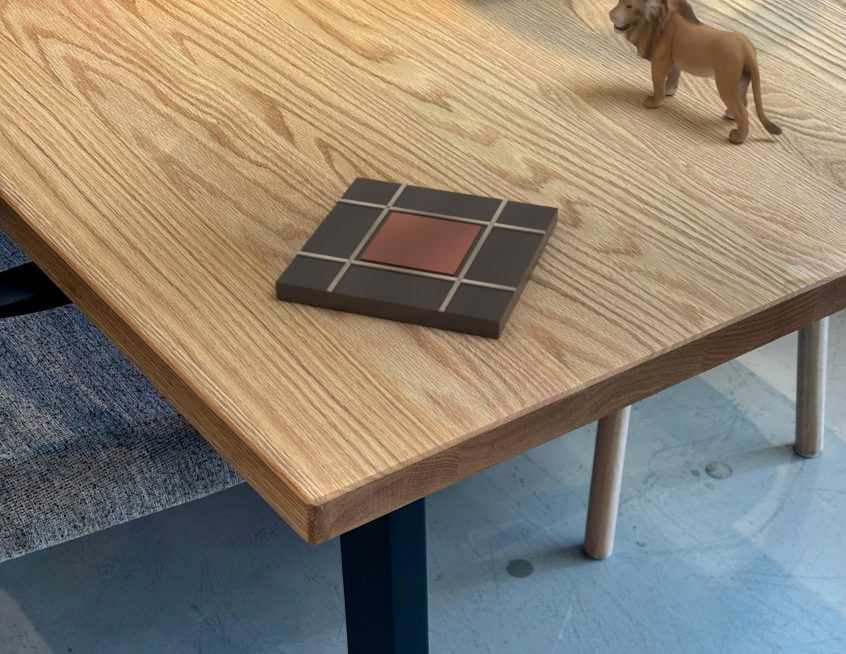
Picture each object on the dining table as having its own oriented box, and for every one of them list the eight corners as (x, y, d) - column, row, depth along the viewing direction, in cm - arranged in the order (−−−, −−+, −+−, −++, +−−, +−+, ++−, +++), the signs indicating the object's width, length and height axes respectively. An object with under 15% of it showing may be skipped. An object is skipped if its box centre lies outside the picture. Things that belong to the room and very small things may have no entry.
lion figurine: (591, 98, 101) (600, -22, 95) (629, 75, 104) (641, -43, 98) (762, 154, 94) (784, 28, 88) (798, 128, 97) (822, 4, 91)
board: (557, 223, 87) (558, 206, 86) (498, 339, 77) (499, 320, 76) (357, 192, 90) (356, 175, 89) (276, 299, 80) (274, 280, 79)
